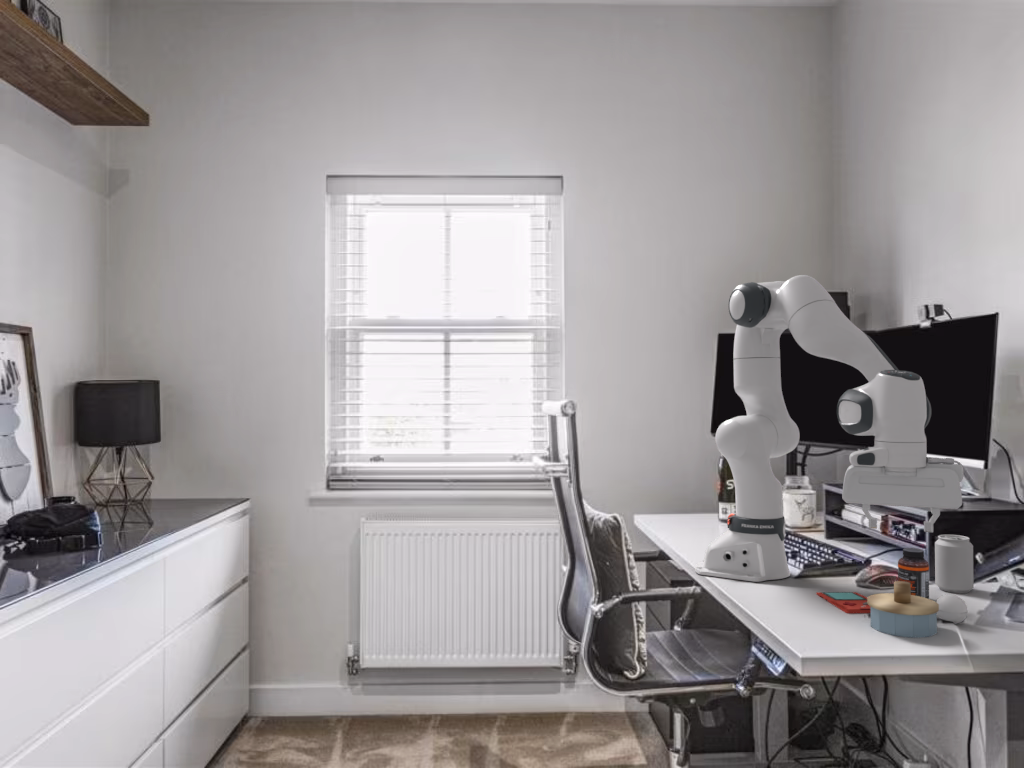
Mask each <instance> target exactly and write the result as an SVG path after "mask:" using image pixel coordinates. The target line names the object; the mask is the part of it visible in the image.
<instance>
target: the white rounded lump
mask: <svg viewBox="0 0 1024 768" xmlns="http://www.w3.org/2000/svg"><path fill="white" fill-rule="evenodd" d="M935 602H937V603H938V604H939V611H938V612H937V617H938V618H939V619H941V620H942V621H946V622H951V623H953V624H954V625H958V624H960V623H962V622H963V621H965V619H966V618H967V617H968V611H969V609H968V605H967V603H966V601H964V600H963V598H962V597H960V596H958V595H957V594H955V593H954V594H953V593H947V594H943V595H941V596H939V597H938V598H937V600H936V601H935Z"/></svg>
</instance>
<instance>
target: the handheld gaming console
mask: <svg viewBox="0 0 1024 768" xmlns="http://www.w3.org/2000/svg"><path fill="white" fill-rule="evenodd" d="M815 594H816V595H817V596H818V597H820V598H821V599H822V600H825V602H828V603H830V604H831V605H832V606H834V607H836V608H838V609H839V610H841V611H842V612H844V613H845V614H871V612H870V606H869V605H868V603H867V598H868V596H865V595H863V594H861V593H858V592H856V591H849V592H848V591H847V592H846V591H843V592H842V591H841V592H839V591H837V592H836V591H835V592H834V591H833V592H829V591H828V592H827V591H824V592H818V591H816V593H815Z"/></svg>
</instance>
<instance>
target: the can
mask: <svg viewBox="0 0 1024 768" xmlns="http://www.w3.org/2000/svg"><path fill="white" fill-rule="evenodd" d="M937 538H938V539H937V540H936V541H934V567H935V569H934V570H935V571H934V574H935V575H934V578H935V579H934V581H935V582H934V583H935V585H936V587H938V588H939V590H941V591H942V592H948V593H952V594H953V593H954V594H966V593H969V592H970V591H971V590H973V589H974V585H975V584H974V545H973V544H972V543H971V541H970V540H971V539H970V537H968V536H964V535H960V534H939V535H937Z"/></svg>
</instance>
